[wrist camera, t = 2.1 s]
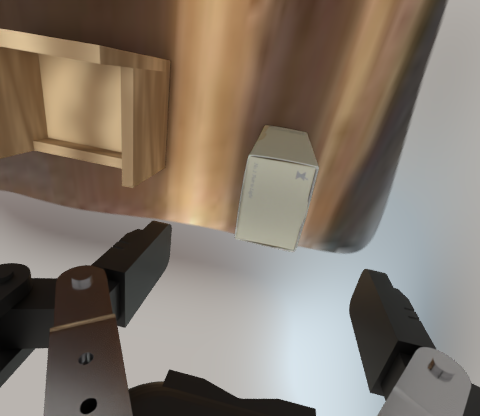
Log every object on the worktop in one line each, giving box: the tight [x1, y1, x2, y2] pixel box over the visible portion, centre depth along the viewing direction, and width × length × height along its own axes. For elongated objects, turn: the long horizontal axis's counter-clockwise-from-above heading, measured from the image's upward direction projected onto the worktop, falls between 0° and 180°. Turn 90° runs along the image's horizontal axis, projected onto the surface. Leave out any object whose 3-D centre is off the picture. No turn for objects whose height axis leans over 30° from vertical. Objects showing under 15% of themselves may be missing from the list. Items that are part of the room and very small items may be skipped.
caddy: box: [0, 29, 171, 188], centre depth 25 cm, size 14×10×11 cm
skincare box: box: [235, 125, 319, 252], centre depth 23 cm, size 6×4×12 cm
